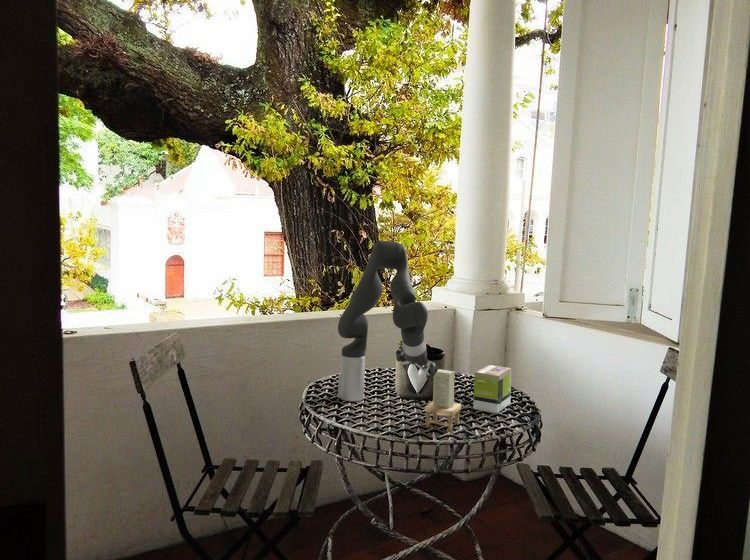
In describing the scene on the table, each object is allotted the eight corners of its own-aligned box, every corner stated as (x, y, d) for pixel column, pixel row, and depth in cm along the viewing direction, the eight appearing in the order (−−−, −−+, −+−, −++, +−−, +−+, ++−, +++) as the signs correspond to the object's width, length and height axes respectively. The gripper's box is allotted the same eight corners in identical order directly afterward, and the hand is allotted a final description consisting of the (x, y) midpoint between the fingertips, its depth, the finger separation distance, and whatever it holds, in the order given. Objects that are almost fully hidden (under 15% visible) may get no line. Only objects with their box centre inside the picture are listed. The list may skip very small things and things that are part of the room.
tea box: (486, 400, 256) (488, 363, 255) (510, 404, 251) (513, 367, 250) (472, 409, 244) (474, 370, 242) (497, 414, 238) (499, 375, 237)
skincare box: (454, 405, 223) (455, 371, 221) (448, 408, 219) (450, 373, 218) (437, 402, 226) (439, 368, 225) (431, 405, 222) (433, 370, 221)
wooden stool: (423, 426, 221) (424, 406, 220) (433, 418, 230) (434, 399, 229) (451, 431, 217) (452, 411, 216) (460, 423, 226) (461, 404, 225)
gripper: (439, 345, 204) (441, 372, 216) (400, 329, 210) (404, 356, 222) (428, 363, 200) (431, 389, 213) (389, 346, 206) (394, 373, 218)
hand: (417, 372), depth 217 cm, fingers open, 8 cm apart
